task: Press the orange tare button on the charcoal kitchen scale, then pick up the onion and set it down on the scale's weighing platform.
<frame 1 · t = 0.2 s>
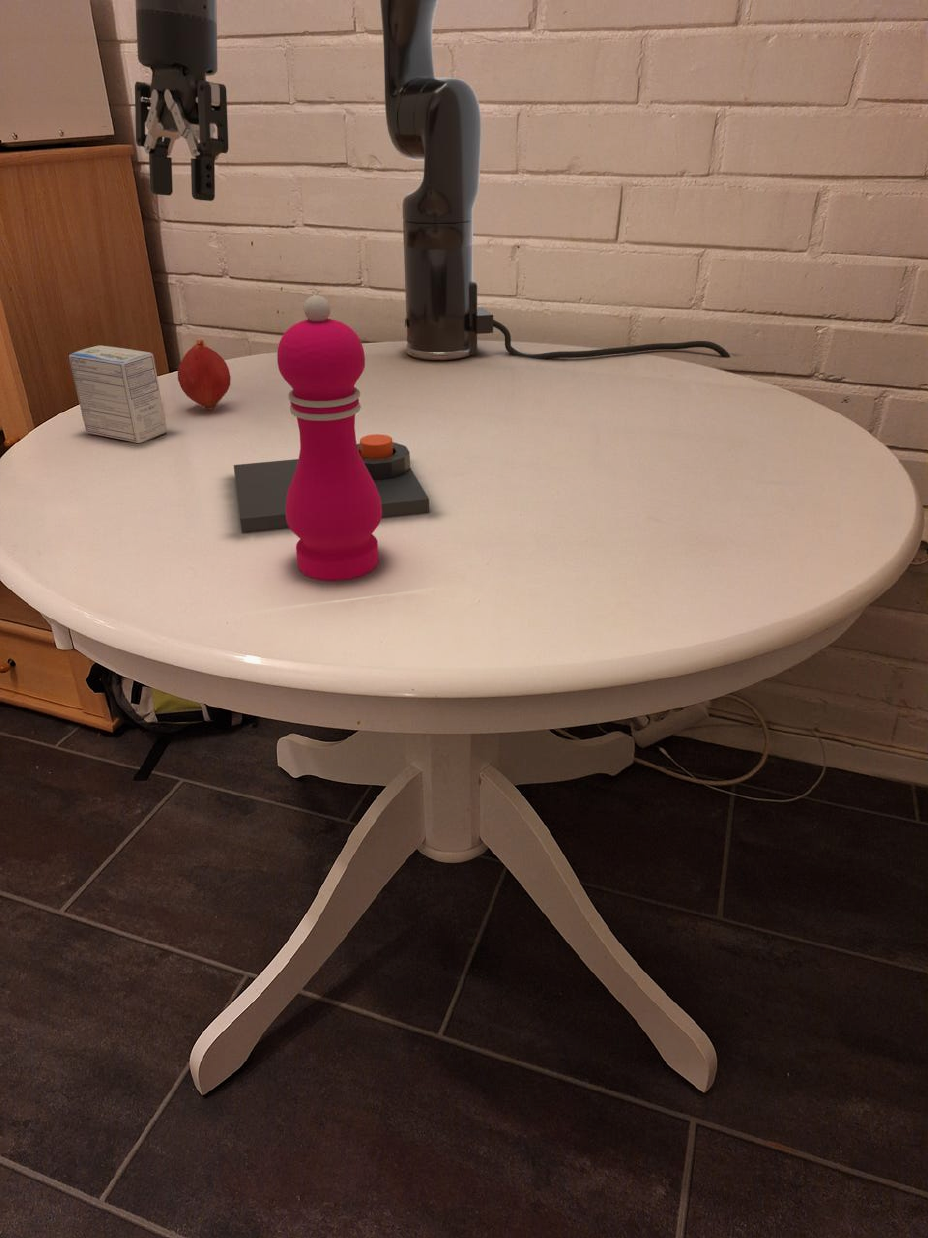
hand: (181, 197, 95), 22 cm above the table, tool pointing down, fingers open, 8 cm apart
tare button: (376, 447, 84), point 3 cm above the table, slide at 0.1 cm
pepper mill: (338, 565, 71), on the table
medicine box: (127, 435, 98), on the table
onion: (209, 410, 106), on the table
scale: (328, 495, 83), on the table
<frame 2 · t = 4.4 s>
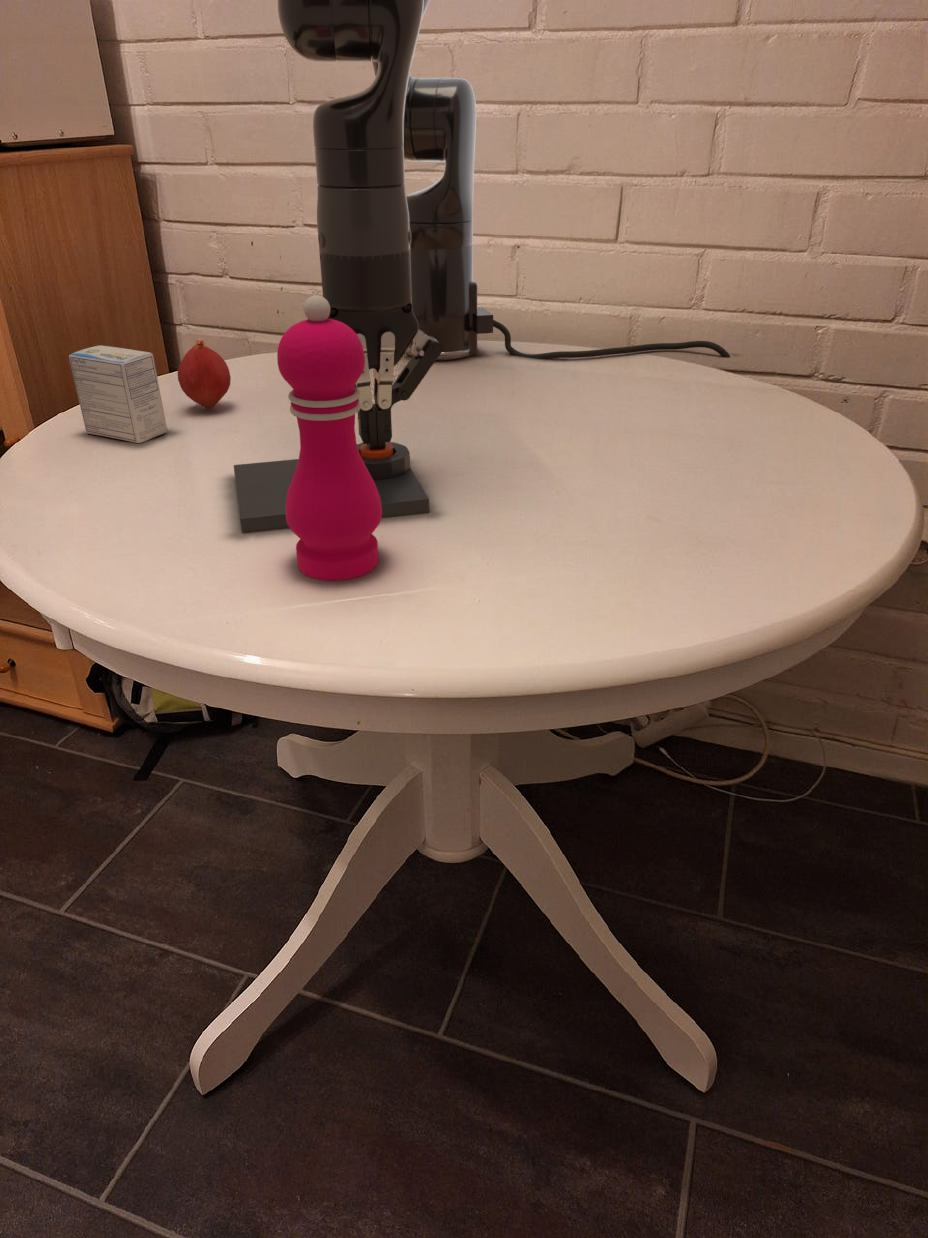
hand: (375, 446, 84), 4 cm above the table, tool pointing down, fingers closed
tare button: (376, 454, 84), point 3 cm above the table, slide at -0.5 cm, touching gripper
everything else where it was.
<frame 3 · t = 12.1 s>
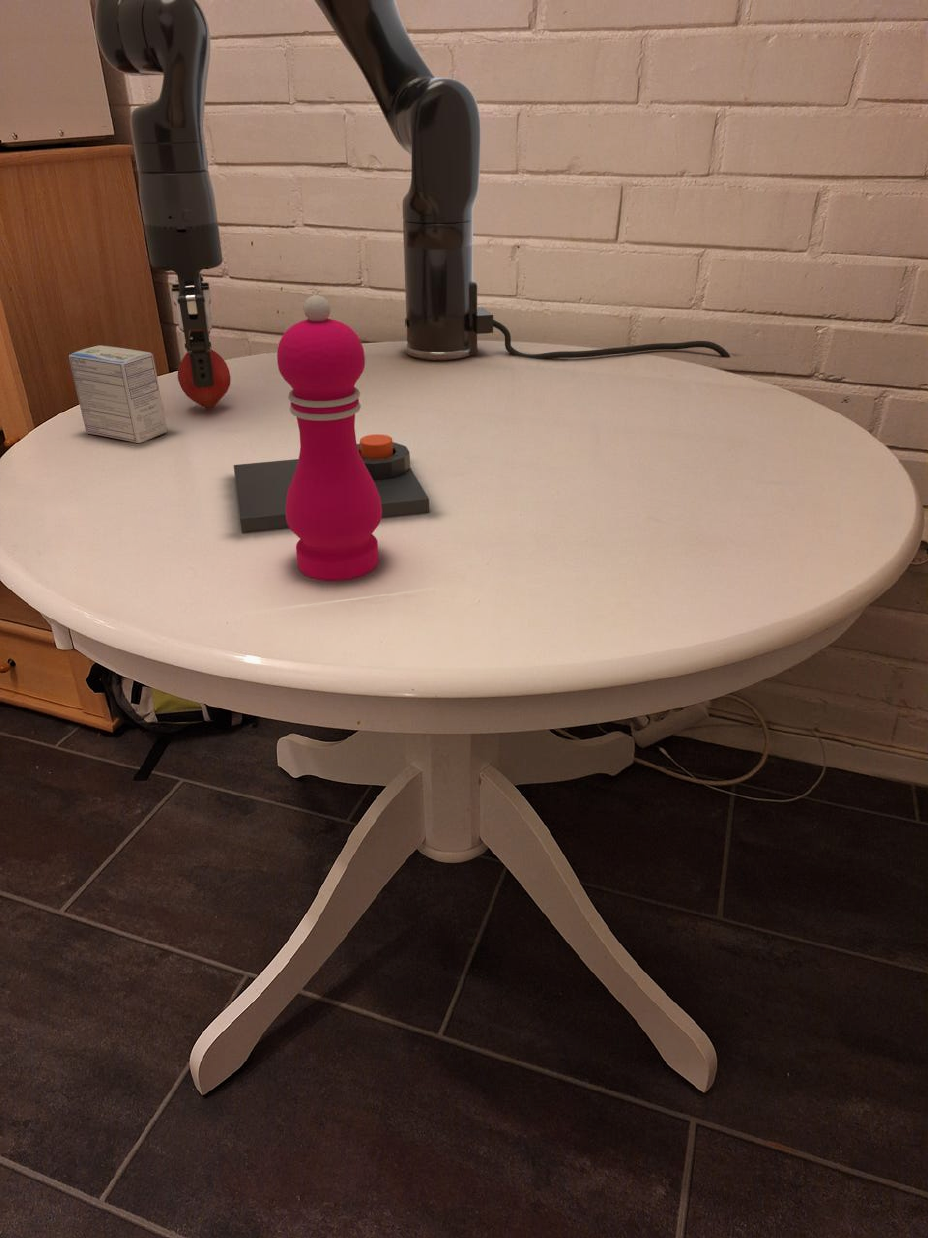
hand: (204, 377, 104), 4 cm above the table, tool pointing down, fingers closed on onion, 6 cm apart
tare button: (376, 447, 84), point 3 cm above the table, slide at 0.1 cm
onion: (209, 410, 106), on the table, touching gripper
everything else where it was.
when the fingers open (5 cm above the table, at t = 20.6 s): onion stays where it is, resting on scale.
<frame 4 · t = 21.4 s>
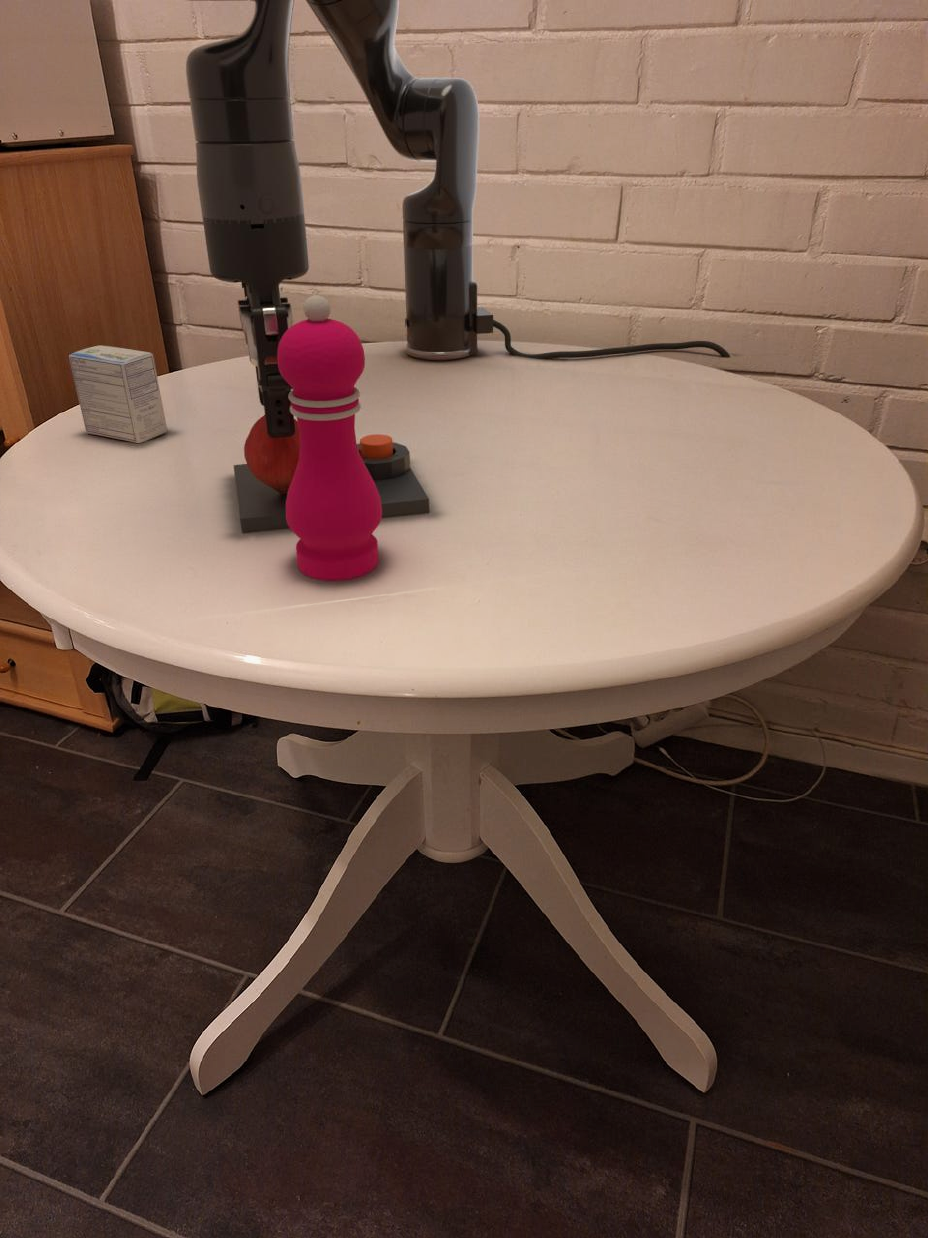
hand: (277, 419, 76), 8 cm above the table, tool pointing down, fingers open, 8 cm apart
onion: (283, 494, 80), point 1 cm above the table, touching scale
everything else where it was.
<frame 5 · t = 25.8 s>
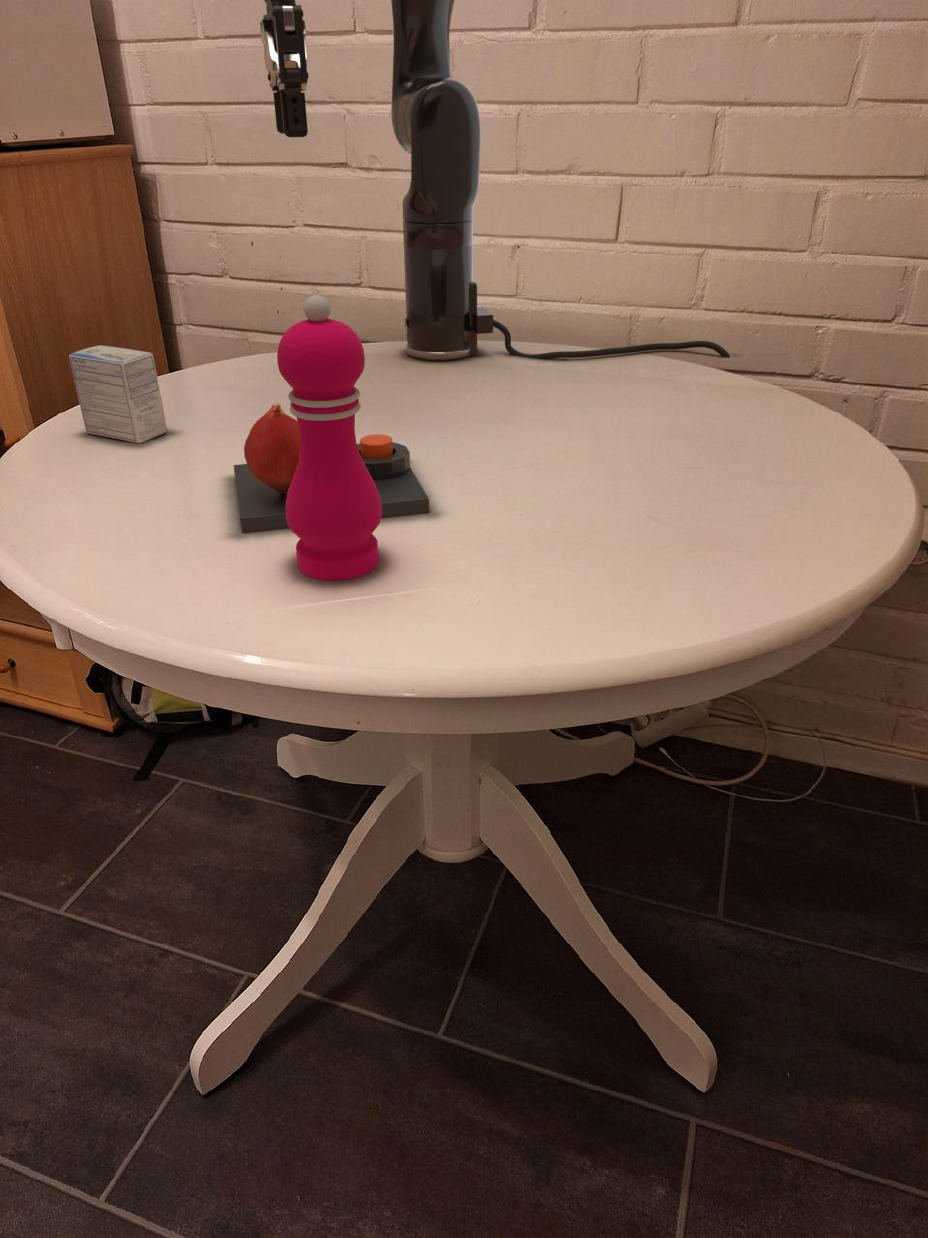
hand: (292, 134, 91), 28 cm above the table, tool pointing down, fingers open, 8 cm apart
nothing on the table moved.
at the end: tare button pushed in 0.9 cm at the most during the clip, back to where it started at the end; tare button slide at 0.1 cm; onion inside the target area on the scale (4.4 cm from its centre), point 1.2 cm above the scale's base; onion touching scale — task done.
